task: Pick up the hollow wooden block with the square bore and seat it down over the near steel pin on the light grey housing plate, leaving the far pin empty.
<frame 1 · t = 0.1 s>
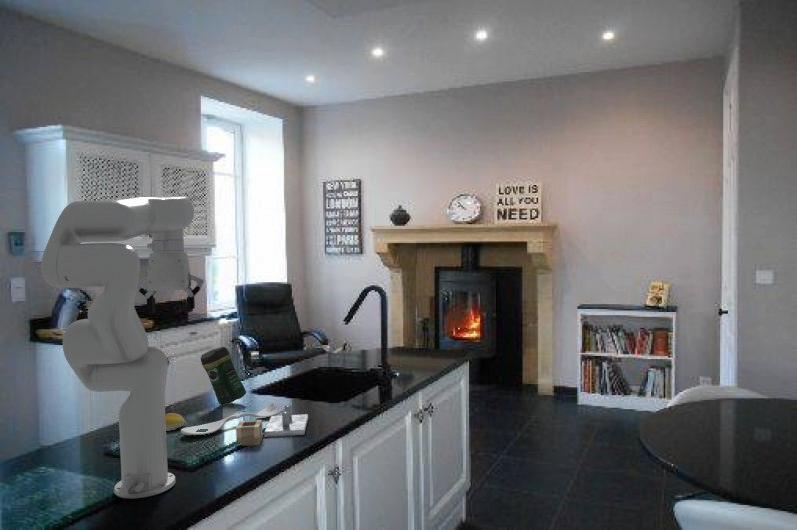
hand: (171, 312, 154), 37 cm above the worktop, tool pointing down, fingers open, 9 cm apart
coffee jar: (233, 400, 199), point 2 cm above the worktop
bread roll: (170, 428, 175), on the worktop
housing plate: (287, 427, 172), on the worktop
hollow wooden block: (249, 441, 160), on the worktop
spoon: (234, 427, 175), on the worktop
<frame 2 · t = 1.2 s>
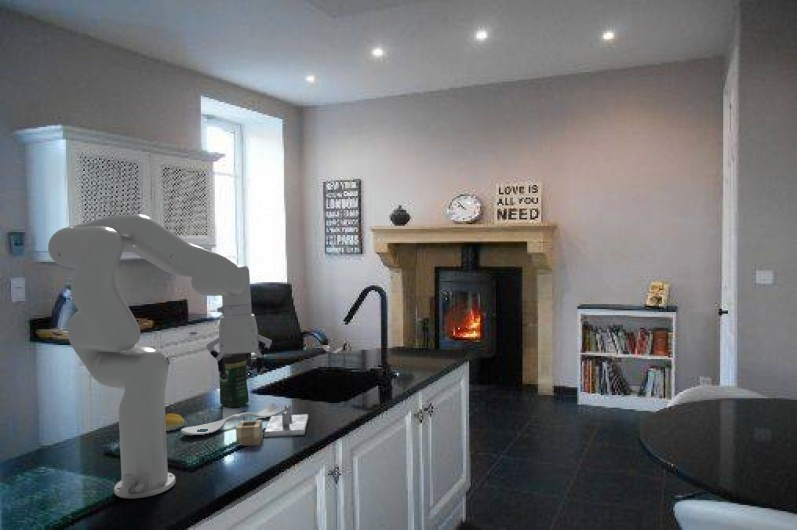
hand: (241, 372, 160), 19 cm above the worktop, tool pointing down, fingers open, 9 cm apart
coffee jar: (234, 404, 199), on the worktop
everything else where it was.
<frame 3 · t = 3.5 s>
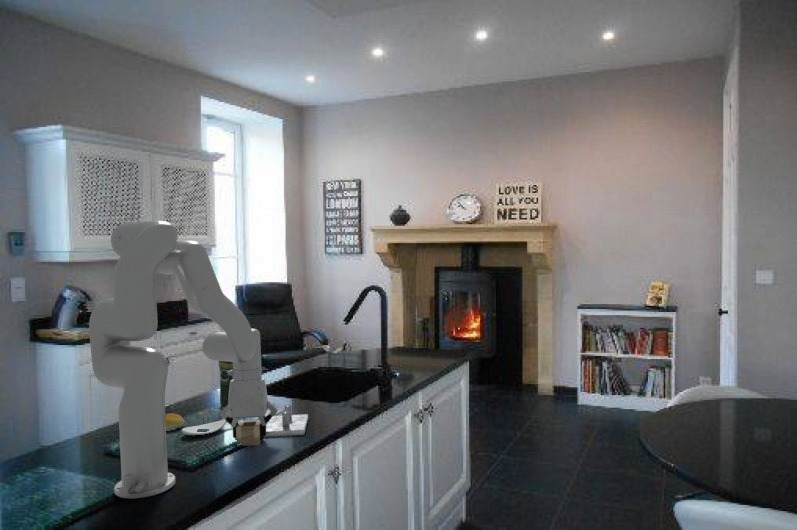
hand: (249, 438, 160), 1 cm above the worktop, tool pointing down, fingers closed on hollow wooden block, 6 cm apart
hollow wooden block: (250, 441, 160), on the worktop, touching gripper
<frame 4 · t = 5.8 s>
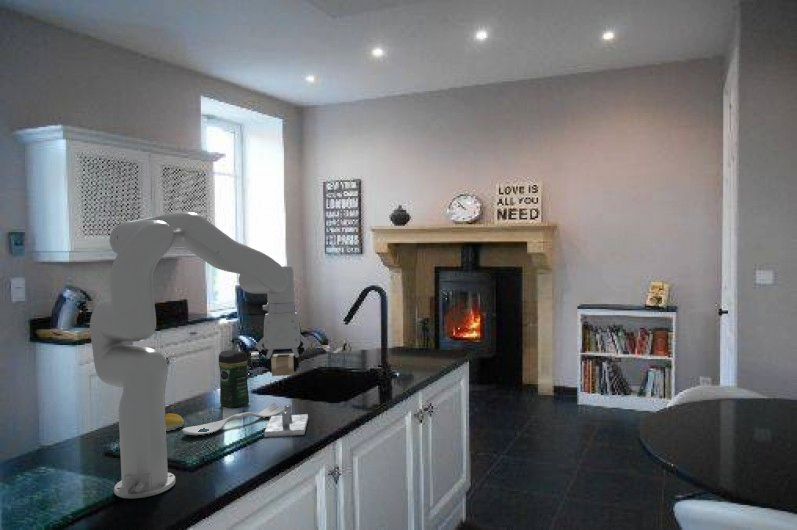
hand: (283, 370, 168), 18 cm above the worktop, tool pointing down, fingers closed on hollow wooden block, 6 cm apart
hollow wooden block: (283, 373, 168), point 17 cm above the worktop, touching gripper
everything else where it was.
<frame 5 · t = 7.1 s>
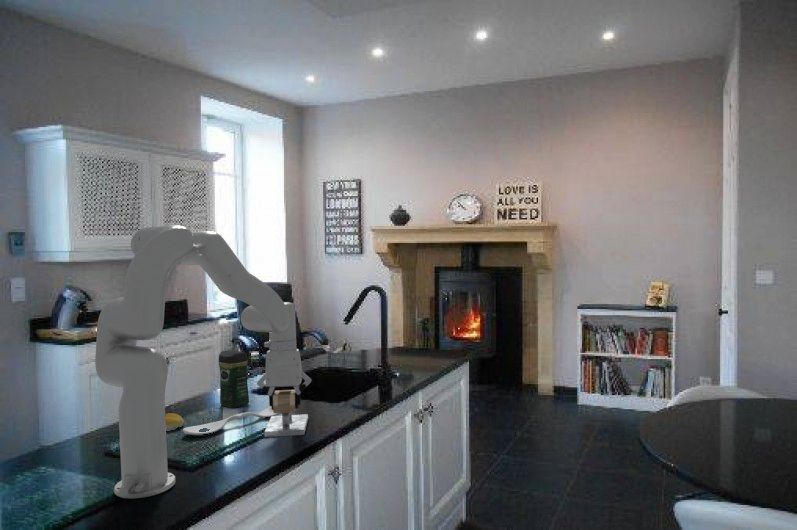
hand: (285, 407, 168), 7 cm above the worktop, tool pointing down, fingers closed on hollow wooden block, 6 cm apart
hollow wooden block: (285, 409, 168), point 6 cm above the worktop, touching gripper
everything else where it was.
when the fingers open (4 cm above the worktop, at t = 8.2 s): hollow wooden block drops 2 cm, resting on housing plate.
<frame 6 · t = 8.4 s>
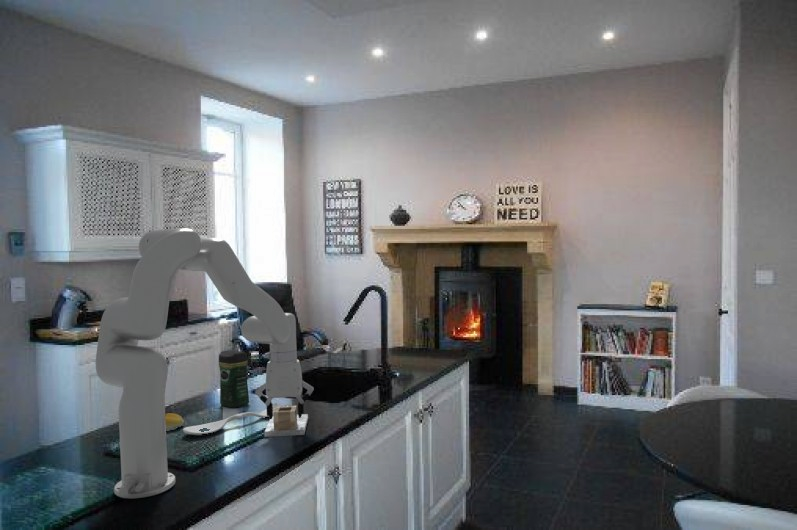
hand: (285, 416, 168), 4 cm above the worktop, tool pointing down, fingers open, 7 cm apart
hollow wooden block: (285, 426, 168), point 1 cm above the worktop, touching housing plate
everything else where it was.
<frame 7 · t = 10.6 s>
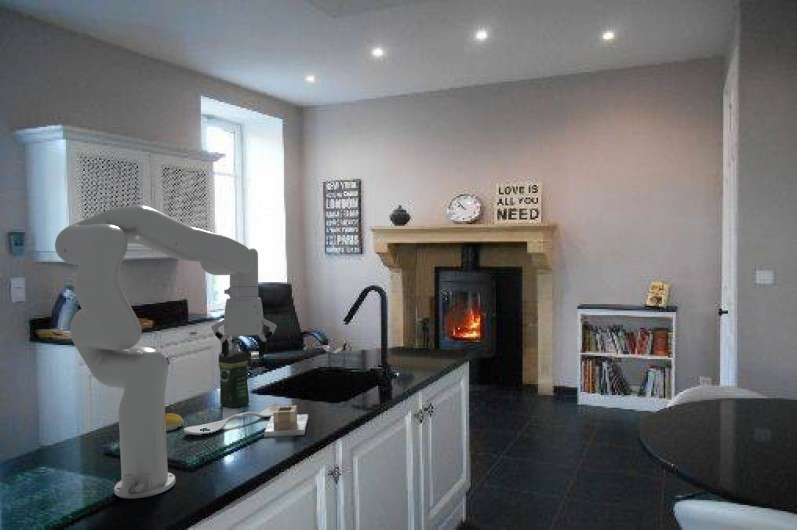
hand: (244, 356, 159), 24 cm above the worktop, tool pointing down, fingers open, 9 cm apart
nothing on the worktop moved.
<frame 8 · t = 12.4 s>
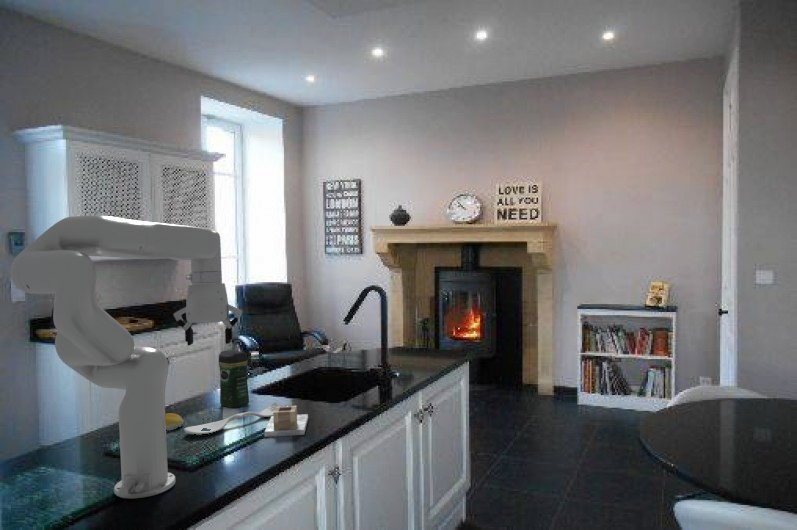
hand: (209, 343, 153), 28 cm above the worktop, tool pointing down, fingers open, 9 cm apart
nothing on the worktop moved.
at the end: hollow wooden block 0.1 cm from the target spot on the housing plate, point 1.5 cm above the housing plate's base; hollow wooden block tilted 0°; the gripper is holding nothing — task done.
